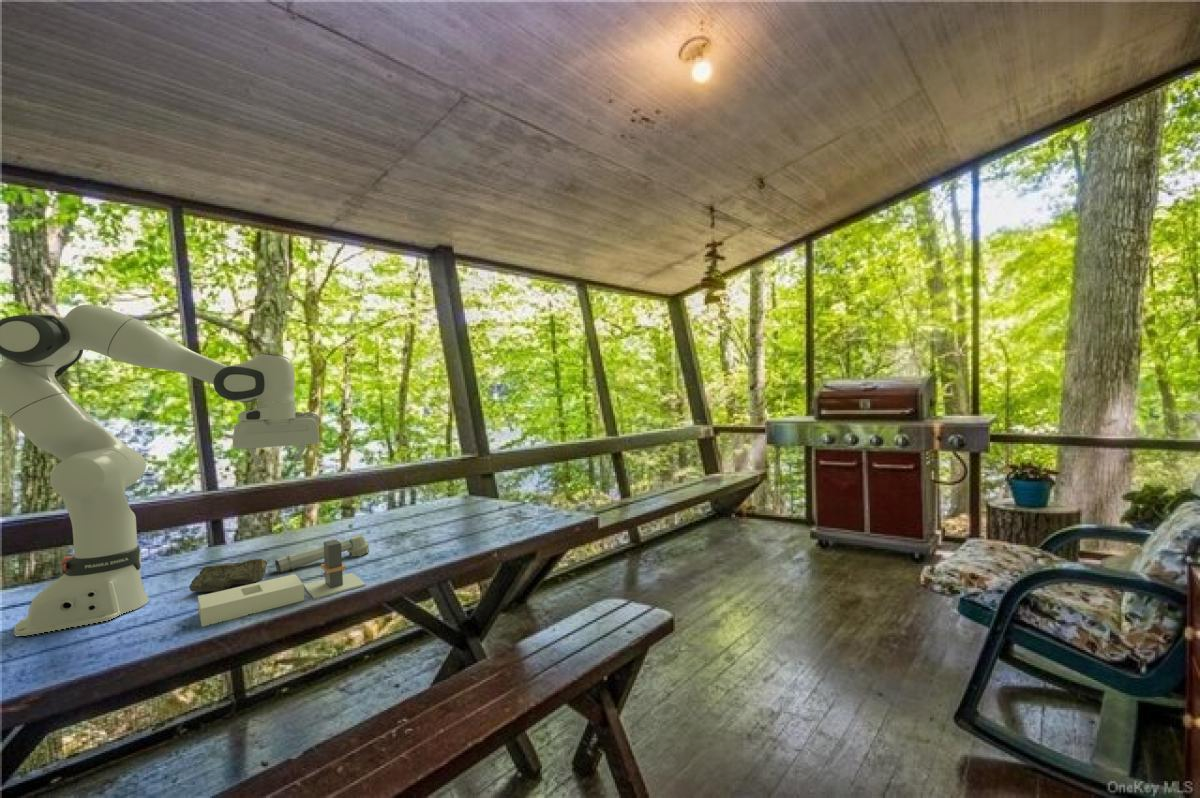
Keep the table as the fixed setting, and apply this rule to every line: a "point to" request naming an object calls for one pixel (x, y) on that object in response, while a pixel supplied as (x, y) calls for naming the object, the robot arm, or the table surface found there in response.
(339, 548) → the plug
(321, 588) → the mat
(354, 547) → the beige flashlight
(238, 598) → the block
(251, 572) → the rock
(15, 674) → the table surface
